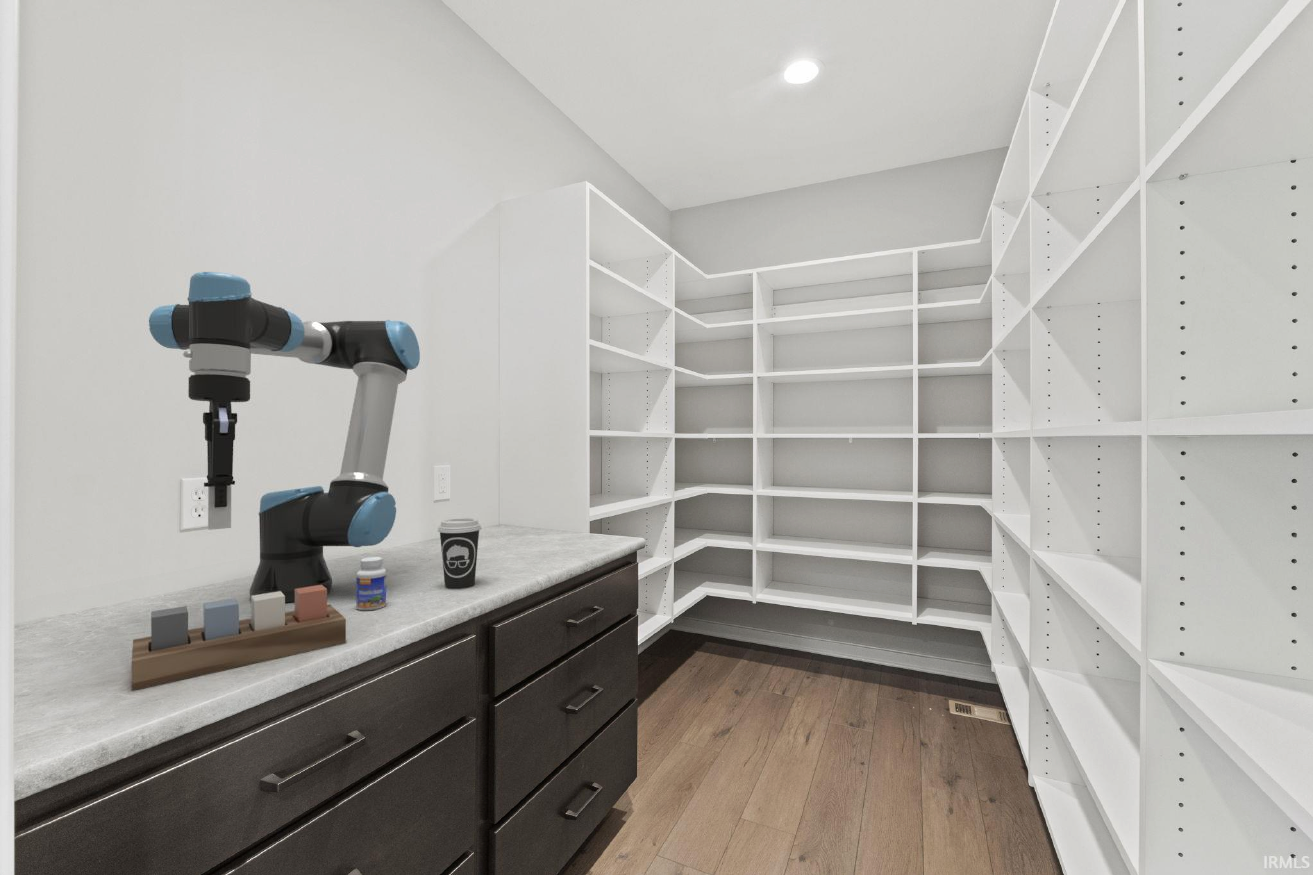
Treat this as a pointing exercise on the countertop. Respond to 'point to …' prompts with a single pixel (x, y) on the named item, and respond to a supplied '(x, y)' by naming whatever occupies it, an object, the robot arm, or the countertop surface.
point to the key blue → (221, 619)
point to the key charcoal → (169, 628)
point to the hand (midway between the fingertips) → (219, 528)
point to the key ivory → (267, 611)
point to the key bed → (233, 649)
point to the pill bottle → (371, 584)
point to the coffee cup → (459, 551)
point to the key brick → (310, 603)
